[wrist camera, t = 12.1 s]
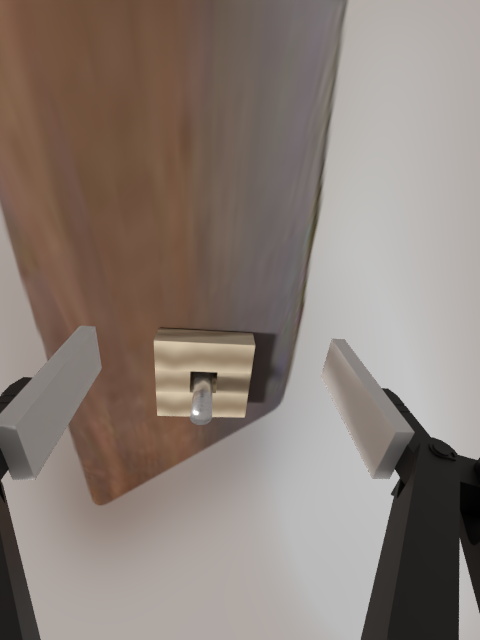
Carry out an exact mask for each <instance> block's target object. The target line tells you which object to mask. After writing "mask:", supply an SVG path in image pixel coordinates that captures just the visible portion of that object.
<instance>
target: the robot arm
mask: <svg viewBox="0 0 480 640" xmlns="http://www.w3.org/2000/svg"><path fill="white" fill-rule="evenodd" d="M101 369H102V367H101V361H100V354H99V348H98V341H97V335H96V328H95V326H79V327H78V328H77V330H76V331H75V332H74V333H73V334H72V335H71V336H70V337H69V338H68V339H67V341H66V342H65V343H64V344H63V345H62V346H61V347H60V348H59V349H58V351H57V352H56V353H55V354H54V355H53V356H52V357H51V358H50V359H49V360H48V362H47V363H46V364H45V365H44V366H43V367H42V368H41V369H40V370H39V371H38V373H37V374H36V375H35V376H34V377H33V378H28V377H23V378H21V379H20V380H18V381H16V382H15V383H13V384H11V385H10V386H9V387H8V388H7V389H6V390H5V391H4V392H3V393H2V394H1V396H0V640H41V639H40V635H39V631H38V627H37V623H36V619H35V615H34V611H33V606H32V602H31V598H30V594H29V590H28V586H27V582H26V578H25V573H24V569H23V565H22V561H21V557H20V553H19V549H18V545H17V541H16V537H15V533H14V528H13V524H12V520H11V516H10V512H9V508H8V504H7V500H6V496H5V491H4V487H3V484H2V482H1V479H2V478H3V476H4V475H5V473H6V472H7V471H8V470H9V473H10V475H11V477H12V479H13V480H35V479H36V477H37V476H38V474H39V472H40V471H41V469H42V467H43V466H44V464H45V462H46V460H47V459H48V457H49V456H50V454H51V452H52V450H53V449H54V447H55V446H56V444H57V442H58V441H59V439H60V437H61V435H62V434H63V432H64V430H65V429H66V427H67V426H68V424H69V422H70V421H71V419H72V417H73V416H74V414H75V412H76V410H77V409H78V407H79V405H80V404H81V402H82V400H83V399H84V397H85V395H86V394H87V392H88V390H89V389H90V387H91V385H92V384H93V382H94V380H95V379H96V377H97V375H98V374H99V372H100V370H101ZM321 378H322V380H323V381H324V383H325V385H326V388H327V389H328V391H329V393H330V395H331V397H332V399H333V401H334V403H335V405H336V407H337V409H338V411H339V413H340V415H341V417H342V419H343V421H344V423H345V425H346V427H347V429H348V431H349V433H350V435H351V437H352V439H353V441H354V443H355V445H356V447H357V449H358V451H359V453H360V455H361V457H362V459H363V461H364V463H365V465H366V467H367V469H368V471H369V473H370V475H371V477H372V478H373V479H378V478H379V479H383V478H384V479H389V478H390V477H391V475H392V473H393V471H394V469H395V470H396V472H397V473H398V475H399V476H400V479H399V481H398V482H397V484H396V486H395V488H394V489H393V491H392V493H391V495H393V496H394V499H393V503H392V508H391V512H390V516H389V520H388V525H387V529H386V534H385V537H384V542H383V546H382V550H381V555H380V559H379V563H378V568H377V572H376V576H375V580H374V585H373V589H372V593H371V598H370V602H369V607H368V611H367V615H366V620H365V624H364V628H363V632H362V636H361V640H459V538H460V540H461V544H462V547H463V552H464V555H465V559H466V563H467V567H468V570H469V574H470V578H471V582H472V586H473V589H474V593H475V597H476V601H477V604H478V608H479V612H480V458H479V459H478V460H475V459H471V458H467V457H464V456H460V455H457V453H456V452H455V450H454V449H452V448H451V447H450V446H449V445H448V444H446V443H444V442H443V441H441V440H438V439H436V438H431V437H430V436H429V434H428V433H427V432H426V431H425V429H424V428H423V427H422V426H421V424H420V423H419V422H418V421H417V419H416V418H415V417H414V416H413V415H412V413H410V411H409V410H408V408H407V407H406V406H404V403H403V402H402V401H401V400H400V398H399V397H398V396H397V395H396V394H394V393H393V392H391V391H390V390H389V389H384V388H381V387H380V386H379V384H378V383H377V382H376V380H375V379H374V378H373V377H372V375H371V374H370V373H369V371H368V370H367V369H366V367H365V366H364V365H363V363H362V362H361V361H360V359H359V358H358V357H357V356H356V354H355V353H354V351H353V350H352V349H351V347H350V346H349V345H348V343H347V342H346V341H345V340H344V339H332V340H331V344H330V347H329V351H328V354H327V357H326V361H325V364H324V368H323V371H322V375H321Z"/></svg>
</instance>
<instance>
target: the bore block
mask: <svg viewBox="0 0 480 640" xmlns="http://www.w3.org/2000/svg"><path fill="white" fill-rule="evenodd" d="M254 351H255V341H254V337H253V333H243V332H224V331H205V330H186V329H167V328H158V331H157V334H156V336H155V339H154V355H155V376H156V397H157V416H190V414H191V405H192V397H193V388H194V379H195V372H213V399H212V417H245V412H246V405H247V399H248V392H249V385H250V378H251V372H252V365H253V358H254Z"/></svg>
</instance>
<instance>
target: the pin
mask: <svg viewBox="0 0 480 640" xmlns="http://www.w3.org/2000/svg"><path fill="white" fill-rule="evenodd" d="M212 399H213V372H195V379H194V388H193V397H192V405H191V414H190V419H191V421H192V422H193V423H195V424H197V425H205V424H207V423H209V422H210V421H211V419H212Z"/></svg>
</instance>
